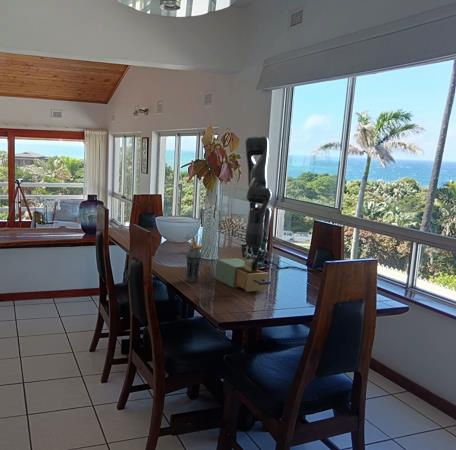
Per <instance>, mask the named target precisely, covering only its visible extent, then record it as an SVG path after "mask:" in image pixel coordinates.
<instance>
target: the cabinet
mask: <svg viewBox="0 0 456 450" xmlns="http://www.w3.org/2000/svg"><path fill="white" fill-rule="evenodd" d="M244 261H245V259H241V258H238V257H237V258H236V257H234V258H217V259H216V264H215V275H214V279H215V280H217V281H219V282H221V283H223V284H225V285H226V286H229V287H231V288H240V287H239V286H237V285H235V275H236V269H239V268H244Z"/></svg>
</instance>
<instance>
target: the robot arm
mask: <svg viewBox="0 0 456 450" xmlns="http://www.w3.org/2000/svg"><path fill="white" fill-rule="evenodd" d="M244 149H245V150H244V151H245V157H246V164H247V166H246V167H247V183H248V185H247V186H248V189H247V192H246V200H247V201H248V202H249V210H248V217H247V223H246V229H245V237H244V238H245V239H244V241H245V242H246V243H243V244H242V243H241V256H242V258H244V260H245V259H253V263H252V271H256V270H257V265H258V270H264V269H266V268H267V266H268V265H271V264H272V265H274V266H275V267H276V268H277V269H279V270H285V269H289V268H291V269H297V270H302V271H307V272H313V271H321V272H322V271H323V269H322V268H319V267H318V268H317V267H315V268H312V269H308V268H303V267H298V266H293V265H292V266H290V265H289V266H288V265H287V266H284V267H281V266H279V265H278V264H276V263H275V262H272V261H271V260H270V259H268V250H267V249H268V247H267V246H268V239H269V232H270V225H271V219H272V209H271V208H270V207H268V206H269V203H270V201H271V199H272V191H271V189H270V188H268V176H267V169H268V162H269V152H270V151H269V150H270V142H269V138H268V137H267V136H266V135H260V136H259V135H258V136H249V137H246V139H245V140H244ZM254 157H259V159H258V160H255V158H254ZM258 204H260V206H258Z"/></svg>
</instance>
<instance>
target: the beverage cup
mask: <svg viewBox="0 0 456 450" xmlns="http://www.w3.org/2000/svg"><path fill="white" fill-rule="evenodd" d="M195 241H196V240H195V238H194V239H193V244H194V245H193V244H192V245H193V248H192V249H191V248H190V249H189V250H188V251H187V253H186V256H185V257H186V281H187V282H188V283H197V282H198V278H199V273H200V266H201V262H202V259H203V255H202V251H201V250H199V249H197V248H195Z"/></svg>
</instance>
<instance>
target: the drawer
mask: <svg viewBox="0 0 456 450" xmlns="http://www.w3.org/2000/svg"><path fill="white" fill-rule="evenodd" d="M269 277H270V272H264V271H262V270H261V269H258V270H257V271H248V270H245V269H244V268H239V269H236V275H235V285H237V286H239V287H238V288H241V289H243V290H244V292H247V293H248V292H260V291H261V292H262V291H268V285H270V284H271V281H270V280H269Z"/></svg>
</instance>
